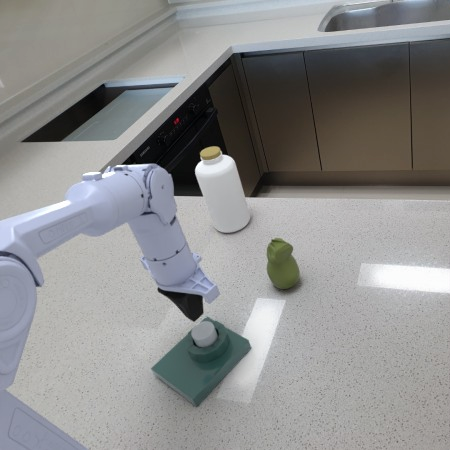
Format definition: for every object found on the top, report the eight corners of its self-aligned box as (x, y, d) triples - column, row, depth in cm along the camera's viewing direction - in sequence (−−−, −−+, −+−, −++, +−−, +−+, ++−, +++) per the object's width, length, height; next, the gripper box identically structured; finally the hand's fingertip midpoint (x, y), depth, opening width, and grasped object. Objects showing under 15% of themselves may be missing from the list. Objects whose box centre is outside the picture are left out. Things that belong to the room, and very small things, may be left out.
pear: (288, 269, 86) (277, 227, 80) (308, 281, 83) (298, 238, 77) (266, 286, 84) (253, 245, 78) (286, 299, 80) (274, 257, 74)
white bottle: (208, 233, 100) (181, 161, 89) (224, 211, 106) (201, 141, 95) (242, 236, 97) (219, 162, 86) (257, 212, 103) (237, 141, 92)
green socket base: (196, 407, 66) (188, 391, 64) (155, 375, 72) (145, 360, 70) (251, 348, 73) (245, 331, 71) (209, 323, 79) (203, 308, 76)
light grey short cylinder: (205, 351, 70) (201, 343, 68) (190, 342, 72) (186, 333, 70) (222, 335, 72) (218, 326, 70) (207, 326, 74) (203, 317, 72)
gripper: (223, 244, 58) (248, 316, 67) (155, 215, 67) (185, 282, 75) (182, 279, 54) (214, 350, 63) (115, 244, 63) (150, 311, 71)
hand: (196, 315), depth 68 cm, fingers closed
